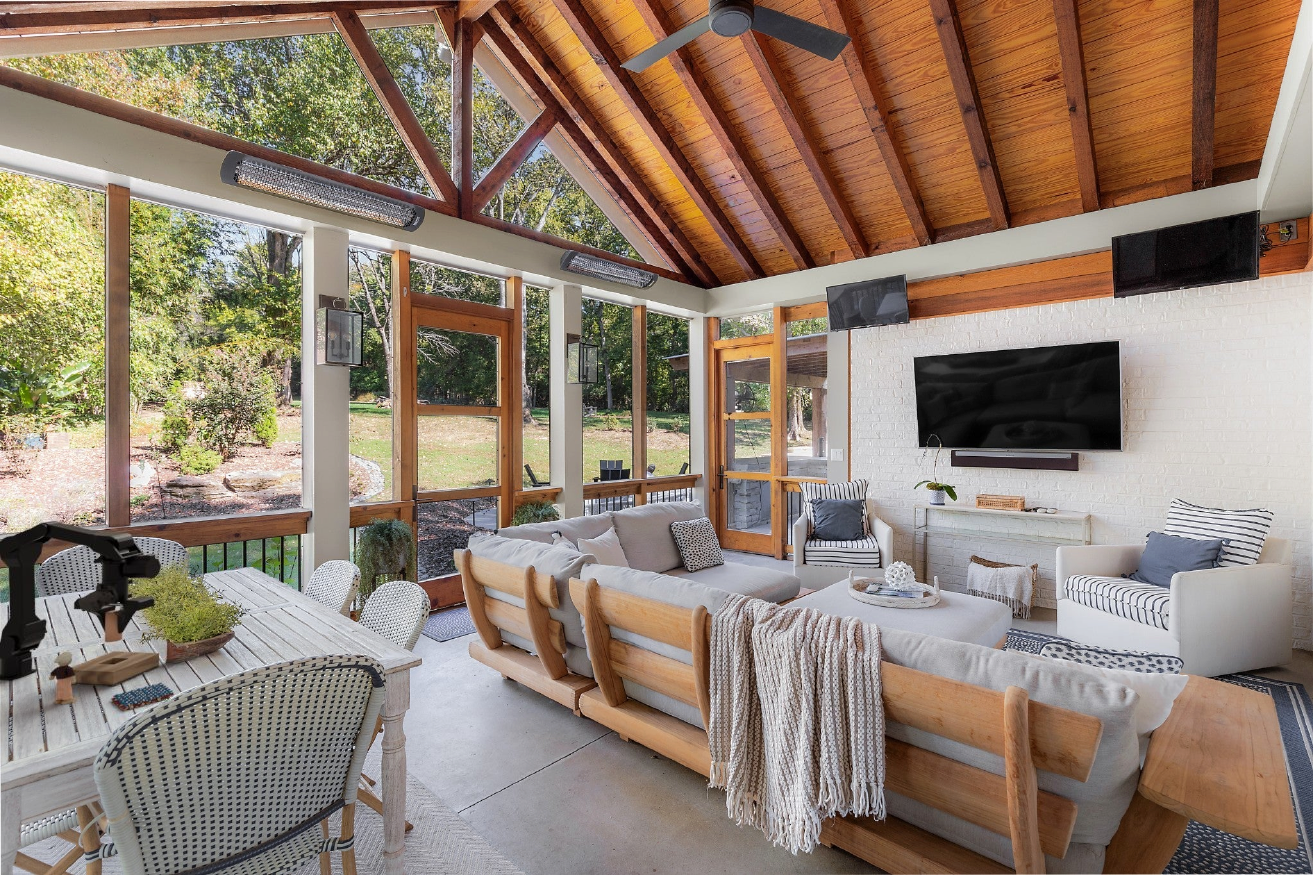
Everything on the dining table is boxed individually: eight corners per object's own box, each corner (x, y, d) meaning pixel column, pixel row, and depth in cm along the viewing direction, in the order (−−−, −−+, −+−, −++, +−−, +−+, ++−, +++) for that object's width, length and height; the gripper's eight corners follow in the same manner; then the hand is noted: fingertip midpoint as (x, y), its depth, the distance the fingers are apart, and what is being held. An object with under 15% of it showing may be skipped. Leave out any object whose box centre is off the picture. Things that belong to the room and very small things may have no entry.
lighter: (197, 654, 184) (198, 622, 184) (200, 657, 182) (201, 625, 182) (164, 661, 178) (165, 628, 178) (167, 664, 176) (168, 631, 176)
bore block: (64, 684, 160) (64, 669, 160) (113, 664, 174) (113, 651, 174) (113, 686, 160) (113, 671, 160) (158, 666, 174) (159, 653, 174)
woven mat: (109, 702, 152) (109, 694, 152) (161, 688, 161) (161, 681, 161) (122, 714, 146) (122, 705, 146) (175, 699, 155) (175, 691, 155)
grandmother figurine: (85, 698, 153) (87, 649, 153) (71, 705, 149) (72, 655, 149) (55, 697, 152) (56, 649, 152) (39, 704, 149) (41, 654, 149)
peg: (113, 637, 169) (114, 609, 169) (125, 638, 169) (126, 610, 169) (101, 641, 165) (101, 613, 165) (113, 642, 165) (114, 613, 165)
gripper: (53, 584, 159) (52, 641, 159) (119, 586, 159) (118, 643, 159) (94, 574, 171) (93, 628, 171) (156, 576, 170) (155, 630, 170)
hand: (113, 632), depth 167 cm, fingers closed on peg, 4 cm apart
